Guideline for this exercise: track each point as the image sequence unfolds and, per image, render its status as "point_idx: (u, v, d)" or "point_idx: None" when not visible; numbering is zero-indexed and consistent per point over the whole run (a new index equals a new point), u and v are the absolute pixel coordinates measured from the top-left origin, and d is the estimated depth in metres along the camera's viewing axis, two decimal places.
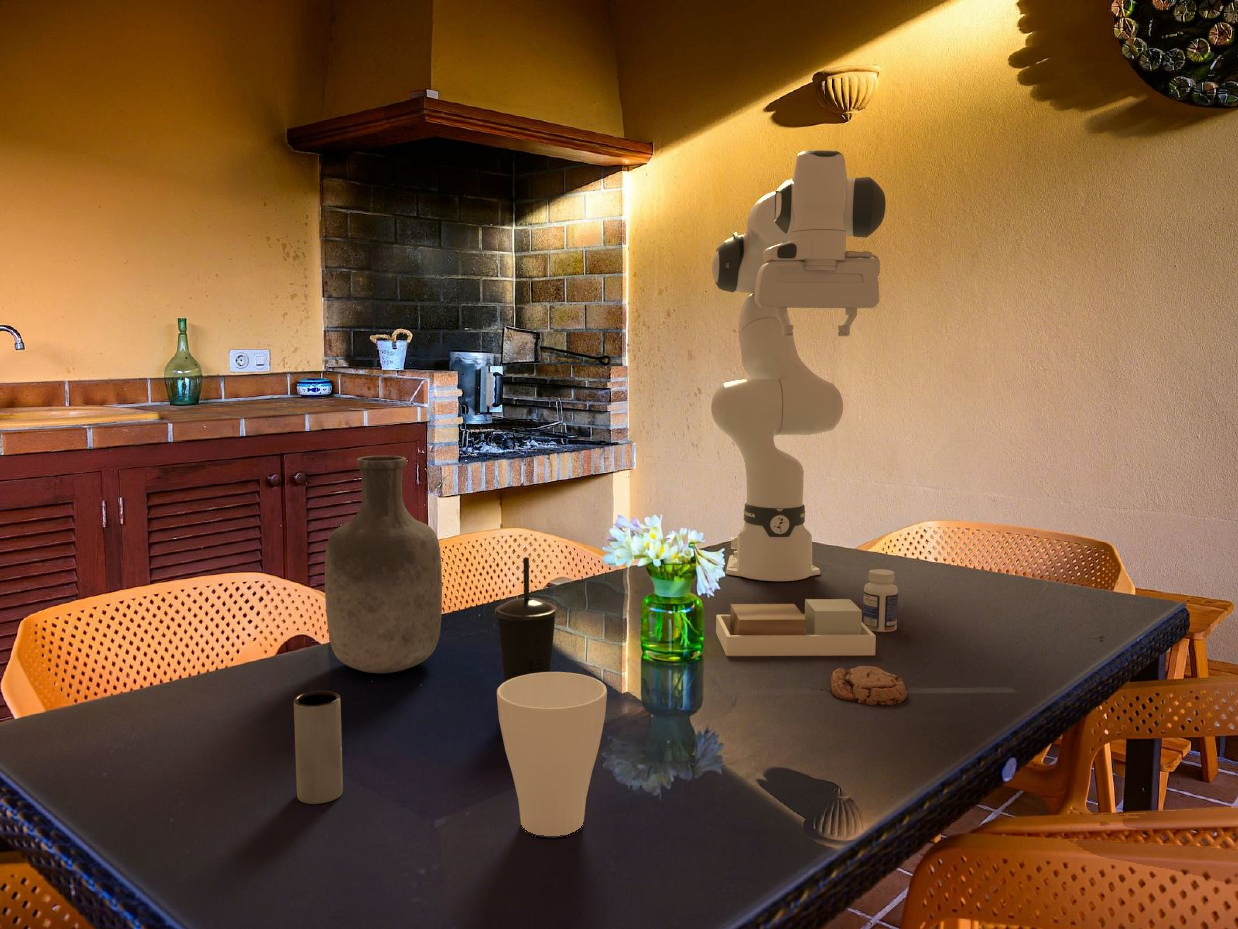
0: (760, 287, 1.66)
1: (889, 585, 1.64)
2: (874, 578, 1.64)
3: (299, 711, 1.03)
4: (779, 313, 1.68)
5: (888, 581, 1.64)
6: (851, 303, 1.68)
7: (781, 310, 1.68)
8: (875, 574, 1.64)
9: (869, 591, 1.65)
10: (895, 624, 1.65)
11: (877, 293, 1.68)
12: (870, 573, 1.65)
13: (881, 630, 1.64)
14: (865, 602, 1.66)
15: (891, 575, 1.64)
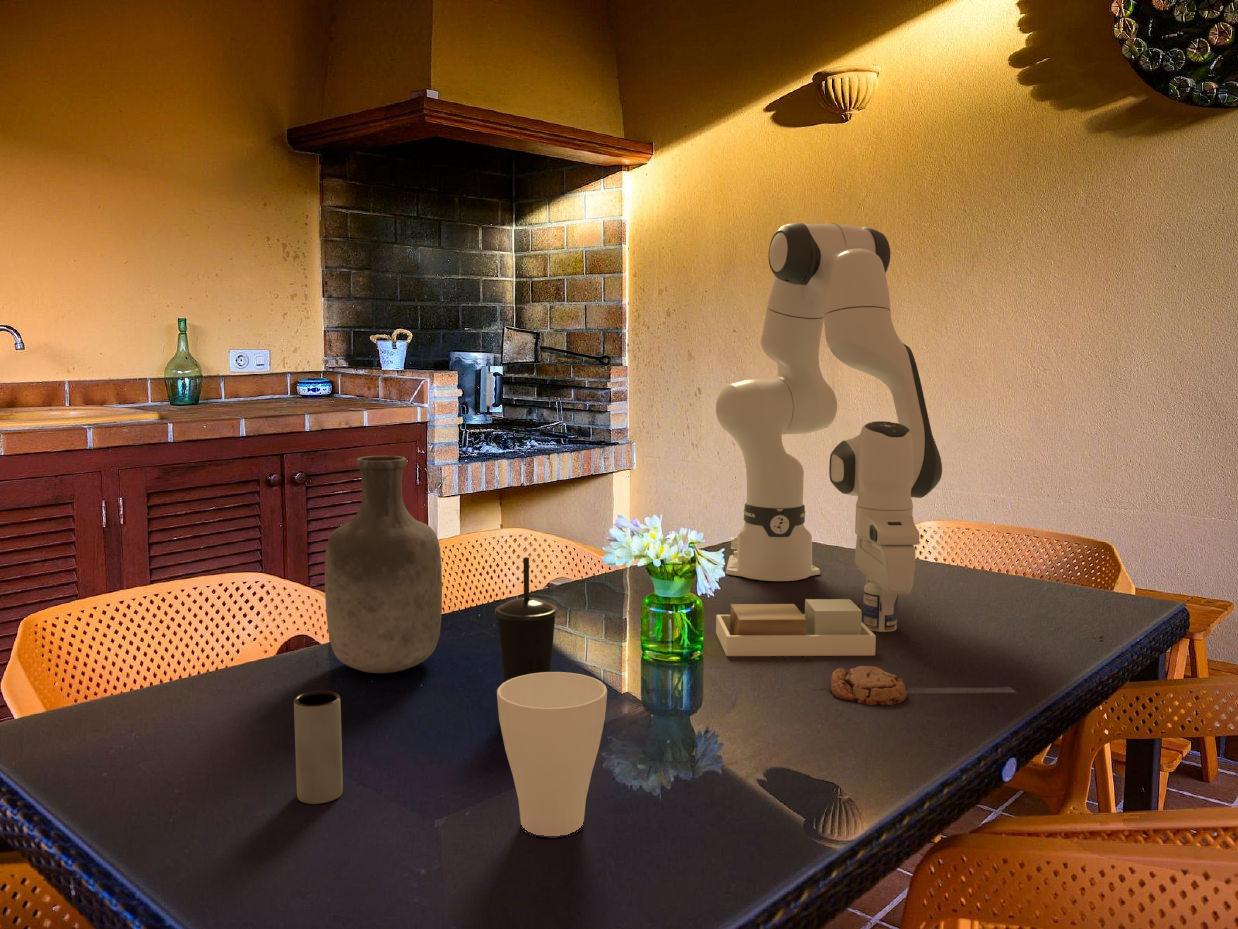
0: (913, 575, 1.56)
1: None
2: None
3: (299, 711, 1.03)
4: None
5: None
6: None
7: None
8: None
9: (869, 591, 1.65)
10: (895, 624, 1.65)
11: None
12: (870, 573, 1.65)
13: (881, 630, 1.64)
14: (865, 602, 1.66)
15: None
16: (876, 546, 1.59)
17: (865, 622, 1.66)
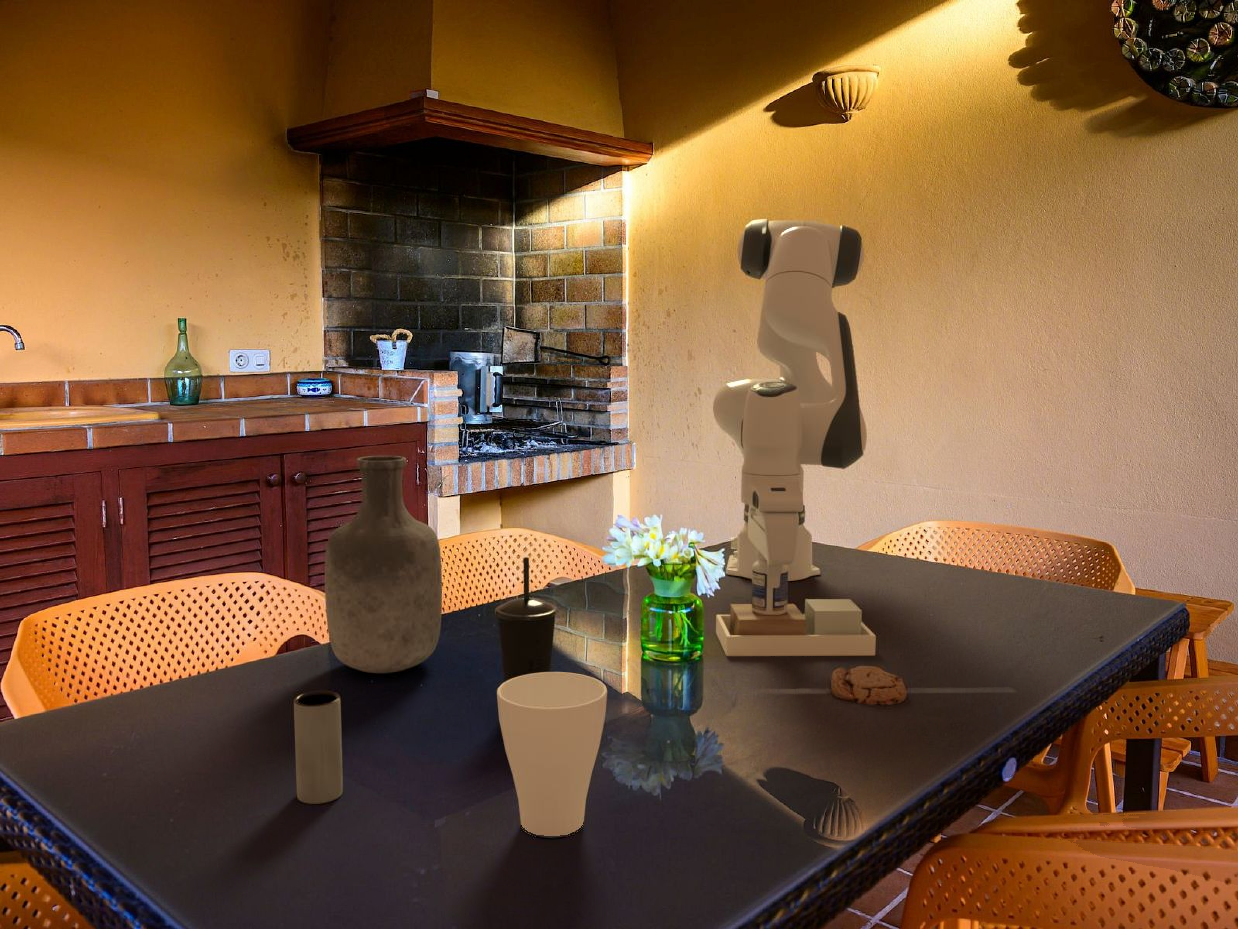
0: (796, 543, 1.45)
1: None
2: (762, 555, 1.54)
3: (299, 711, 1.03)
4: (782, 565, 1.51)
5: None
6: None
7: None
8: None
9: (756, 569, 1.54)
10: (784, 605, 1.55)
11: None
12: (758, 550, 1.55)
13: (769, 611, 1.54)
14: (753, 581, 1.55)
15: None
16: (759, 513, 1.49)
17: (753, 603, 1.56)
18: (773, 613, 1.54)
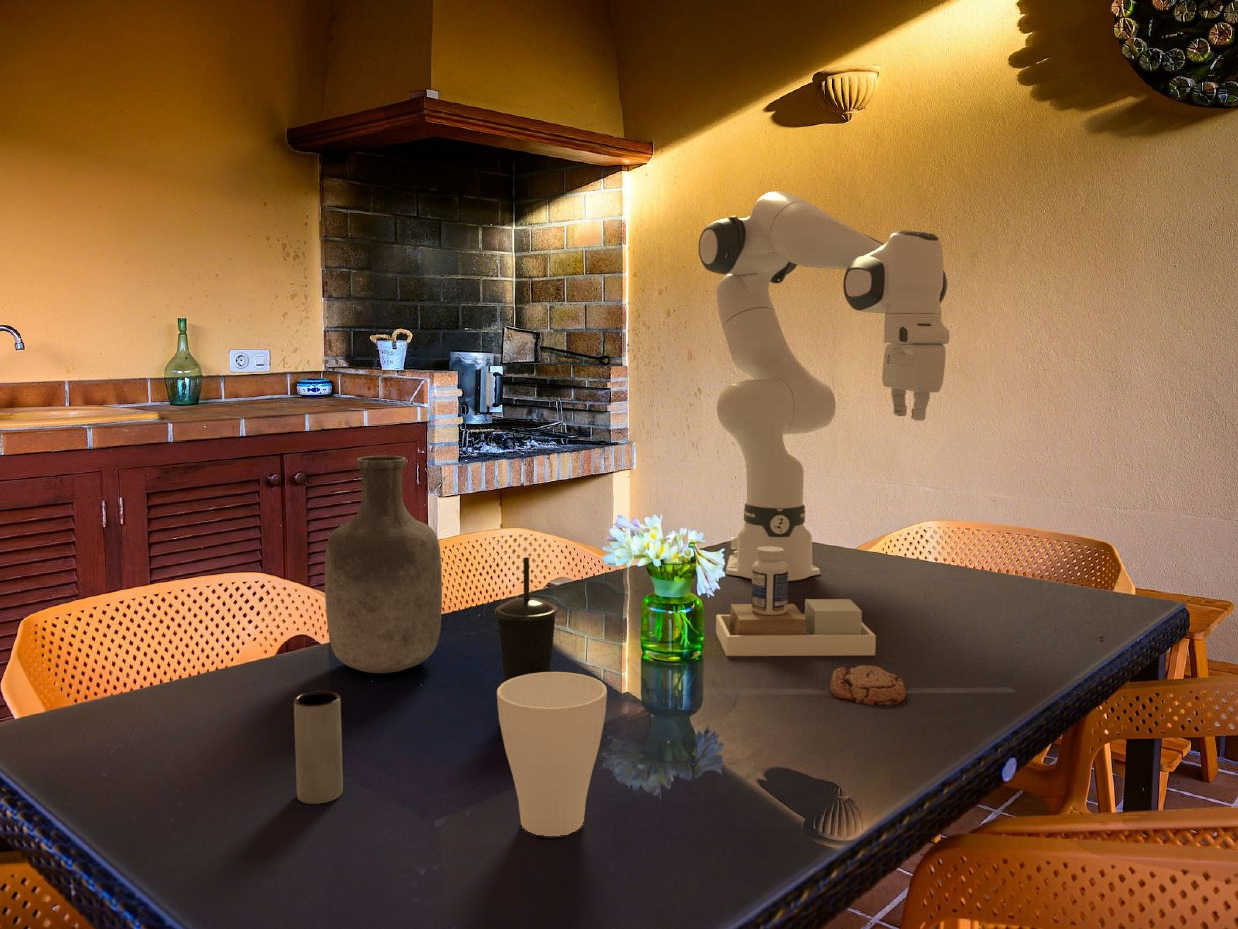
0: (943, 372, 1.57)
1: (778, 562, 1.54)
2: (762, 555, 1.54)
3: (299, 711, 1.03)
4: None
5: (776, 558, 1.54)
6: None
7: None
8: (763, 551, 1.54)
9: (756, 569, 1.54)
10: (784, 605, 1.55)
11: None
12: (758, 550, 1.55)
13: (769, 611, 1.54)
14: (753, 581, 1.55)
15: (780, 552, 1.54)
16: (906, 347, 1.60)
17: (753, 603, 1.56)
18: (773, 613, 1.54)
